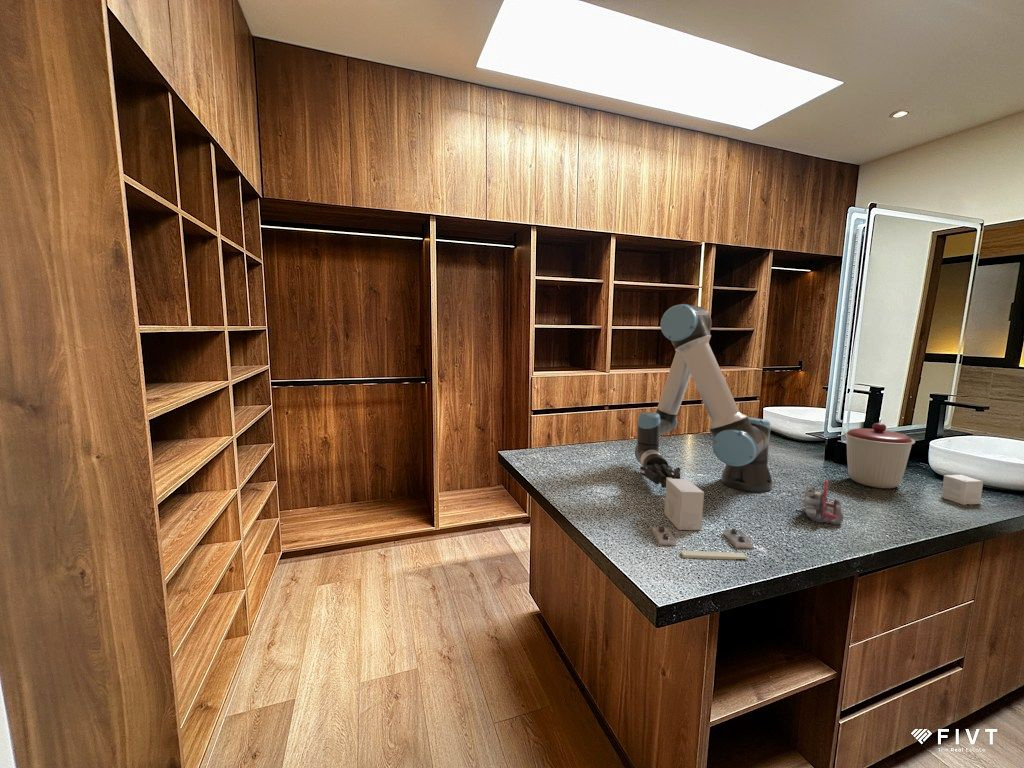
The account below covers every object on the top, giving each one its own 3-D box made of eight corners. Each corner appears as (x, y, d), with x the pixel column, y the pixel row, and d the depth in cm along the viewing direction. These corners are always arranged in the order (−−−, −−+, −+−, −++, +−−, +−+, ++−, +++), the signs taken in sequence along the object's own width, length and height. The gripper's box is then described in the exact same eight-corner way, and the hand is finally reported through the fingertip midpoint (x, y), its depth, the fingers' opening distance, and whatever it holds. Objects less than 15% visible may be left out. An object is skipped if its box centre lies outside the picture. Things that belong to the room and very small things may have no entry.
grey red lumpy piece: (856, 523, 108) (824, 482, 111) (812, 538, 114) (783, 498, 117) (853, 509, 117) (824, 471, 120) (813, 523, 123) (786, 487, 126)
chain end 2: (739, 534, 107) (739, 527, 107) (753, 548, 100) (753, 541, 100) (723, 533, 108) (723, 527, 107) (735, 547, 101) (736, 540, 100)
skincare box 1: (703, 530, 109) (705, 491, 108) (678, 530, 109) (680, 491, 108) (686, 513, 120) (688, 477, 119) (663, 513, 120) (665, 478, 118)
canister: (905, 497, 131) (913, 431, 129) (834, 482, 145) (839, 422, 142) (912, 484, 143) (919, 423, 141) (846, 471, 157) (851, 415, 154)
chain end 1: (667, 531, 109) (667, 525, 108) (676, 545, 102) (676, 538, 101) (651, 531, 109) (652, 524, 109) (659, 544, 102) (659, 537, 102)
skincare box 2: (981, 504, 126) (984, 481, 125) (962, 505, 126) (965, 481, 125) (958, 496, 132) (961, 474, 131) (940, 497, 132) (943, 474, 131)
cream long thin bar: (742, 555, 97) (742, 552, 97) (746, 559, 95) (747, 557, 95) (680, 553, 98) (680, 550, 98) (683, 557, 96) (683, 555, 96)
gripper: (673, 475, 142) (698, 503, 119) (634, 474, 144) (651, 501, 120) (674, 453, 142) (699, 477, 118) (635, 452, 143) (652, 476, 119)
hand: (675, 489), depth 119 cm, fingers closed
